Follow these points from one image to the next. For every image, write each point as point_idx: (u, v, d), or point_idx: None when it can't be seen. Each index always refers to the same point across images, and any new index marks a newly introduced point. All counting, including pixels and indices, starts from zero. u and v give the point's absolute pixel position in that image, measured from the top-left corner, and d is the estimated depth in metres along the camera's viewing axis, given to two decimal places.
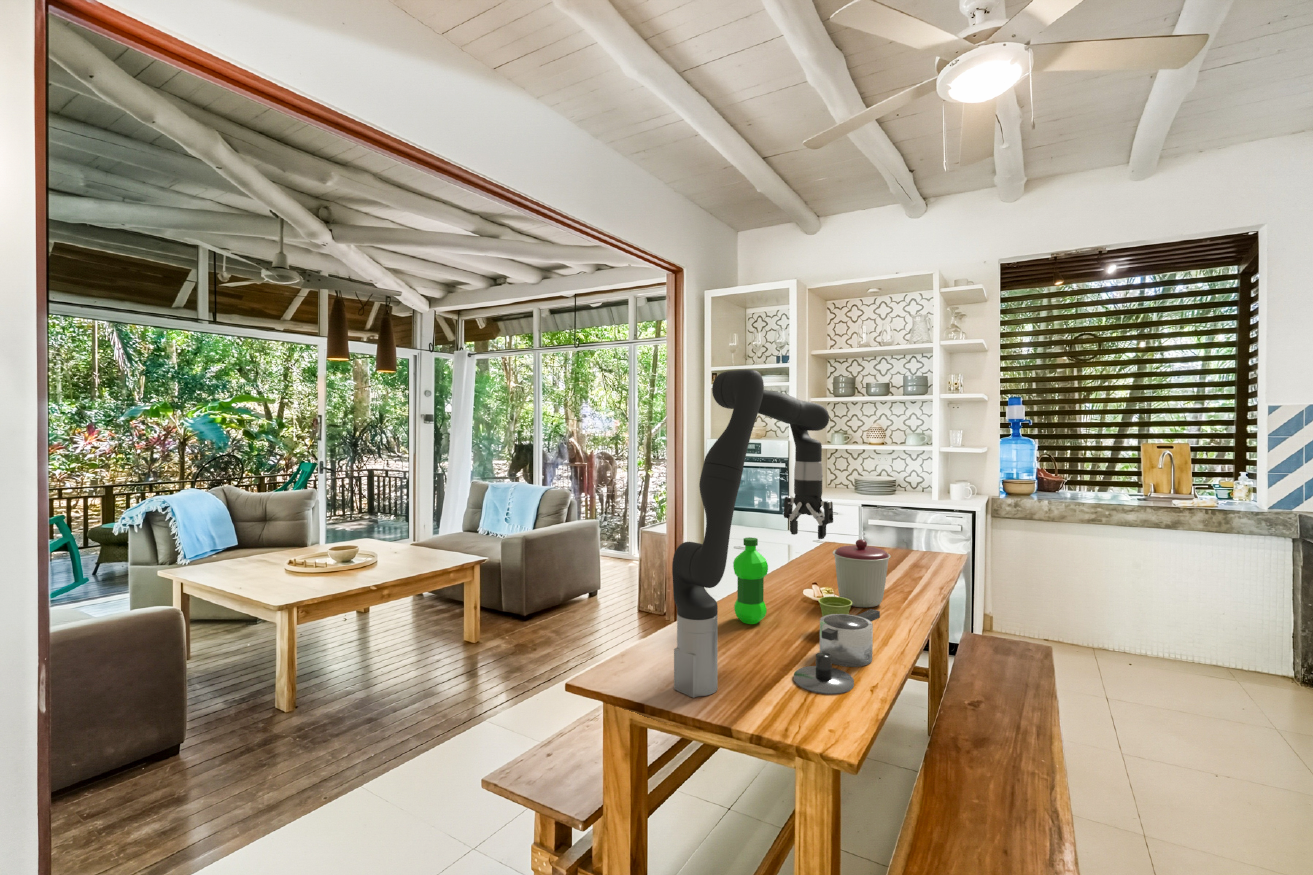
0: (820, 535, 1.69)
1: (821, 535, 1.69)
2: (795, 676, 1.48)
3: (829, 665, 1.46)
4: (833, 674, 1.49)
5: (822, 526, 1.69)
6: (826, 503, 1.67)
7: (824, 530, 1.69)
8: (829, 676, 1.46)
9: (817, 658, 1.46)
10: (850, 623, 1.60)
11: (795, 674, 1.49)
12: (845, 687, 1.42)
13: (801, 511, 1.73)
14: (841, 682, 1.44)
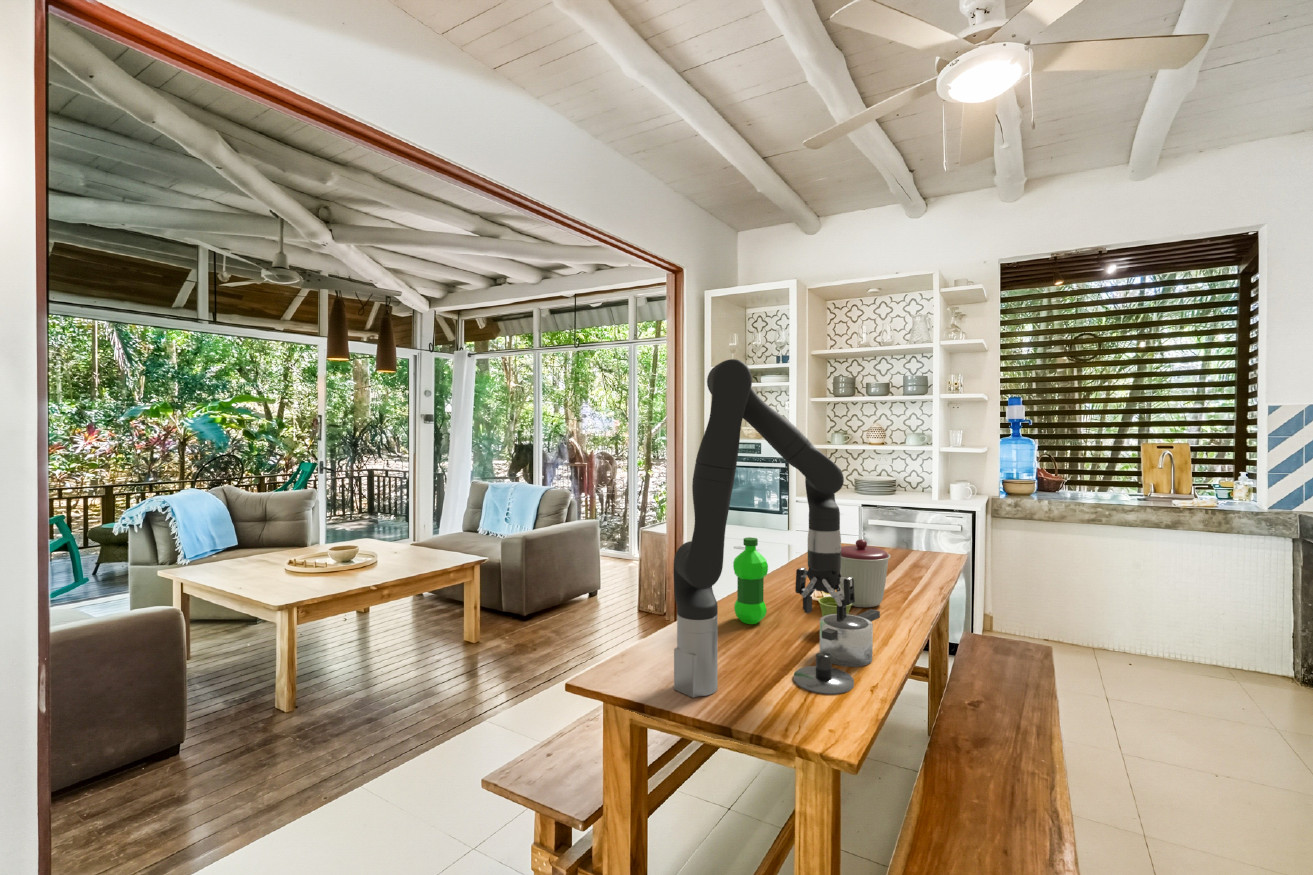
0: (839, 617, 1.43)
1: (841, 617, 1.43)
2: (795, 676, 1.48)
3: (829, 665, 1.46)
4: (833, 674, 1.49)
5: (842, 607, 1.42)
6: (846, 581, 1.41)
7: (844, 611, 1.43)
8: (829, 676, 1.46)
9: (817, 658, 1.46)
10: (850, 623, 1.60)
11: (795, 674, 1.49)
12: (845, 687, 1.42)
13: (816, 587, 1.47)
14: (841, 682, 1.44)
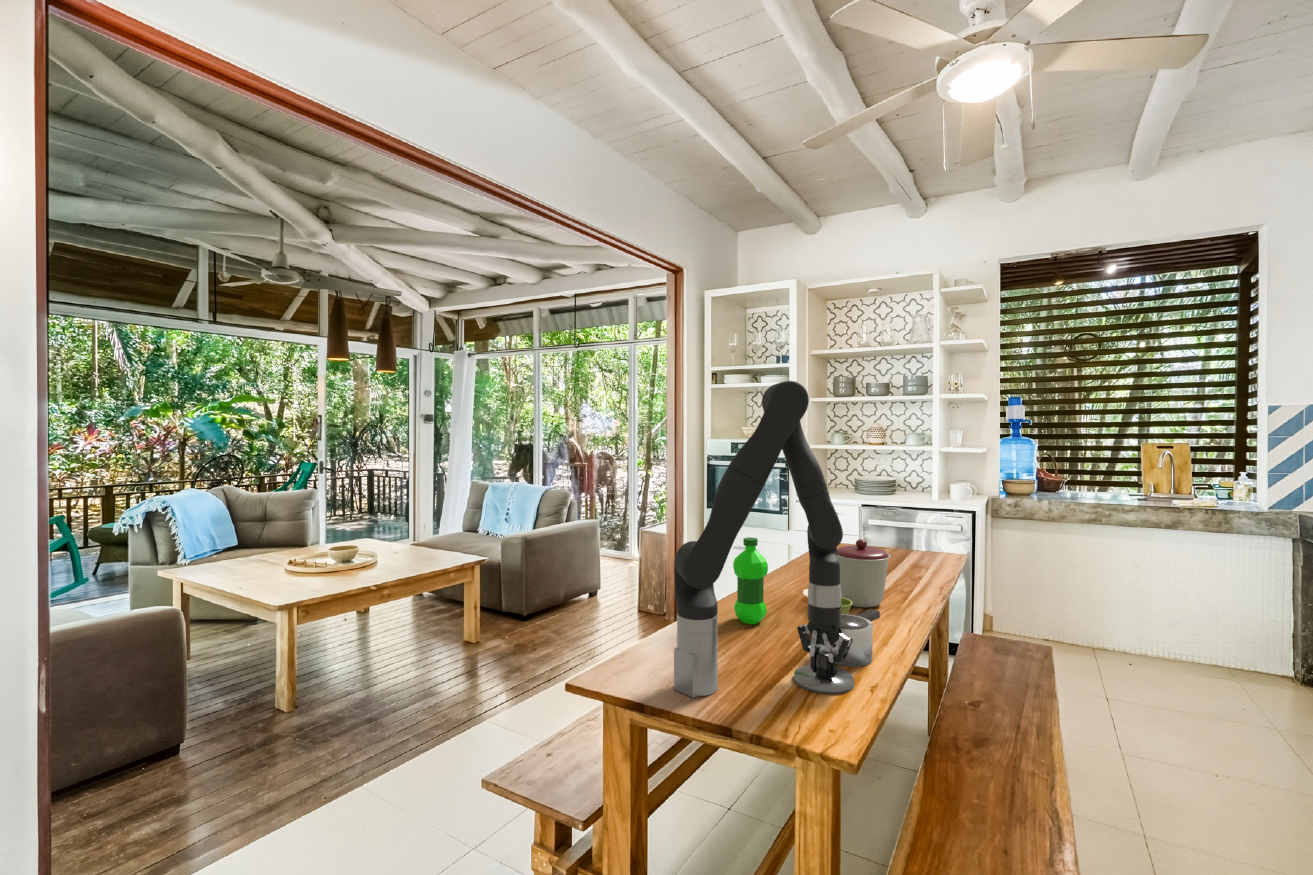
0: (831, 673, 1.45)
1: (832, 673, 1.45)
2: (795, 675, 1.48)
3: None
4: None
5: (833, 663, 1.44)
6: (845, 642, 1.41)
7: (835, 668, 1.45)
8: None
9: (817, 657, 1.46)
10: (850, 623, 1.60)
11: (795, 672, 1.49)
12: (845, 686, 1.42)
13: (819, 640, 1.46)
14: (842, 681, 1.44)
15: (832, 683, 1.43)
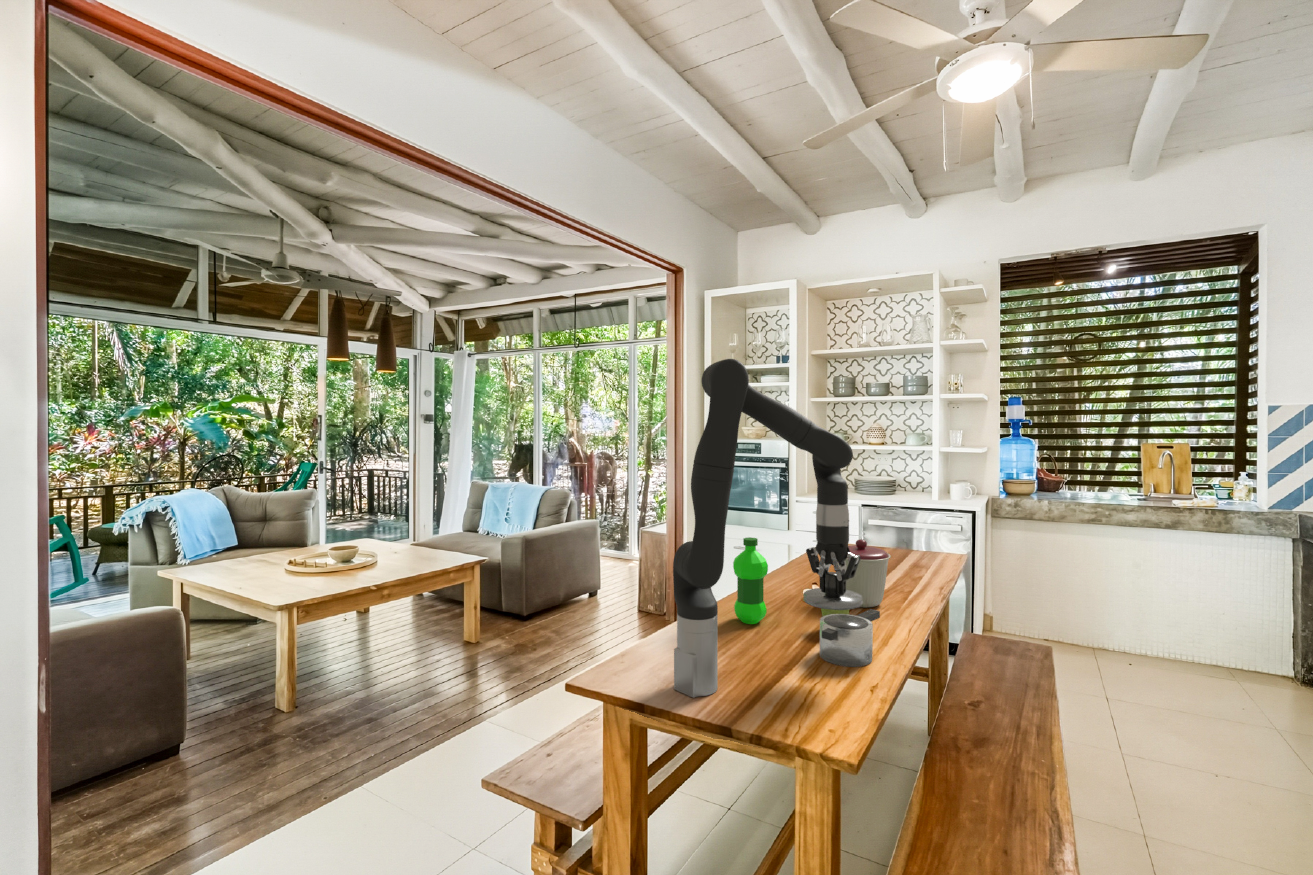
0: (839, 592, 1.48)
1: (840, 592, 1.48)
2: (805, 595, 1.51)
3: None
4: None
5: (841, 581, 1.48)
6: (853, 559, 1.44)
7: (844, 586, 1.48)
8: None
9: (826, 576, 1.49)
10: (850, 623, 1.60)
11: (805, 593, 1.52)
12: (854, 602, 1.45)
13: (828, 560, 1.50)
14: (850, 599, 1.47)
15: (841, 600, 1.46)
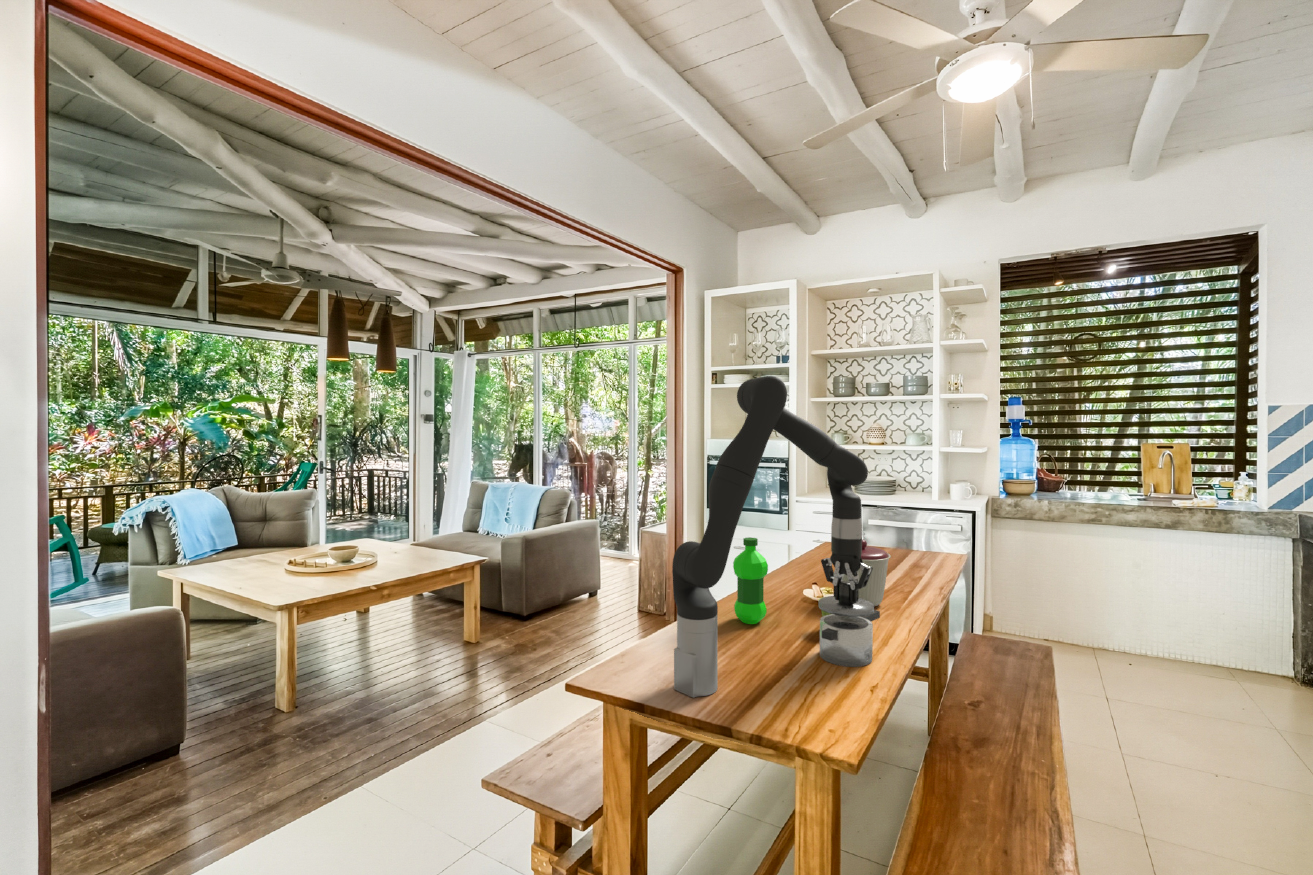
0: (852, 600, 1.59)
1: (853, 600, 1.59)
2: (820, 602, 1.62)
3: None
4: None
5: (854, 590, 1.59)
6: (866, 570, 1.55)
7: (856, 594, 1.59)
8: None
9: (840, 585, 1.60)
10: (850, 623, 1.60)
11: (819, 601, 1.63)
12: (866, 609, 1.56)
13: (842, 570, 1.60)
14: (862, 606, 1.58)
15: (854, 608, 1.57)
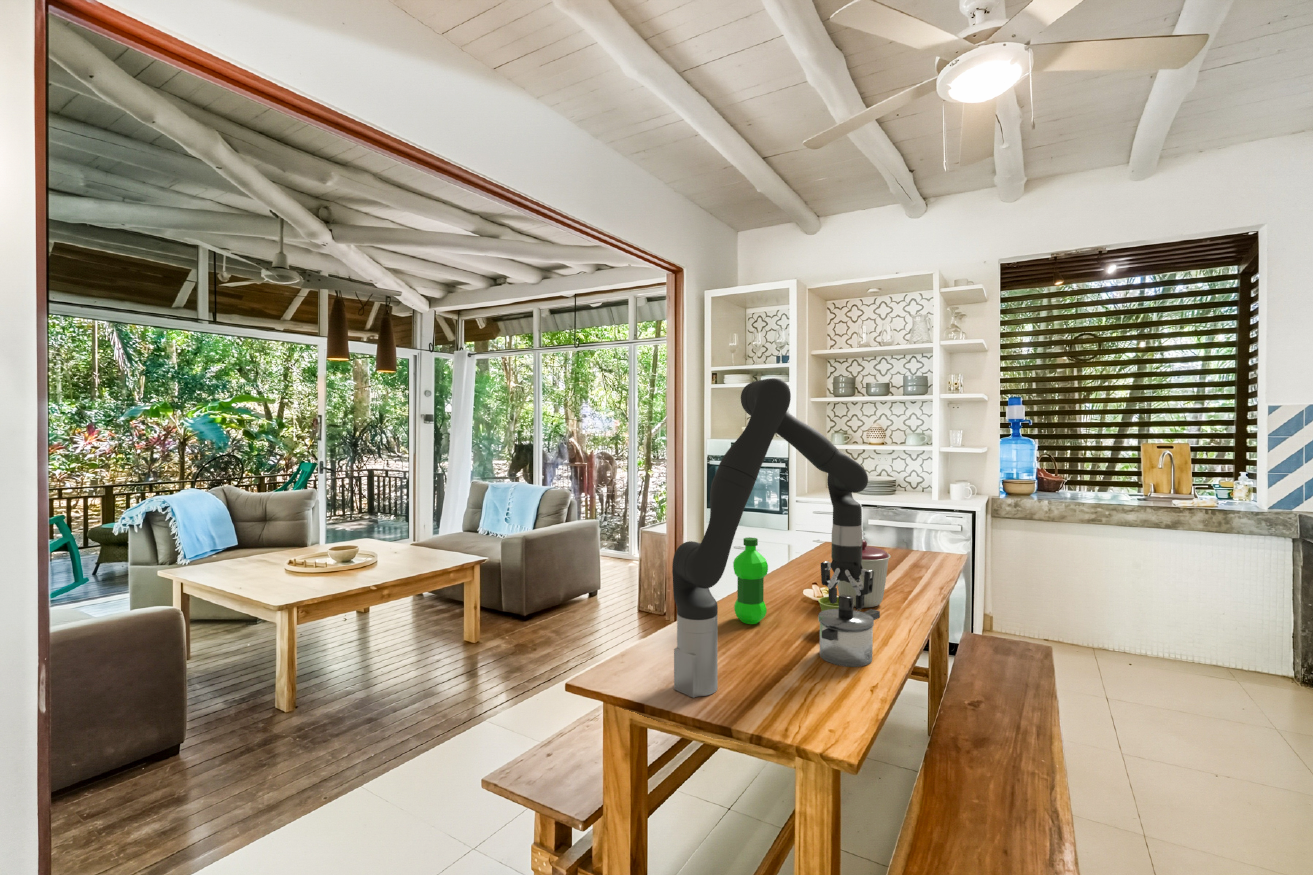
0: (858, 606, 1.58)
1: (859, 606, 1.58)
2: (820, 616, 1.62)
3: (851, 605, 1.60)
4: (854, 614, 1.63)
5: (860, 596, 1.57)
6: (867, 573, 1.55)
7: (862, 600, 1.58)
8: (851, 615, 1.60)
9: (840, 599, 1.61)
10: None
11: (819, 614, 1.63)
12: (866, 624, 1.56)
13: (840, 577, 1.61)
14: (862, 620, 1.58)
15: (854, 622, 1.58)
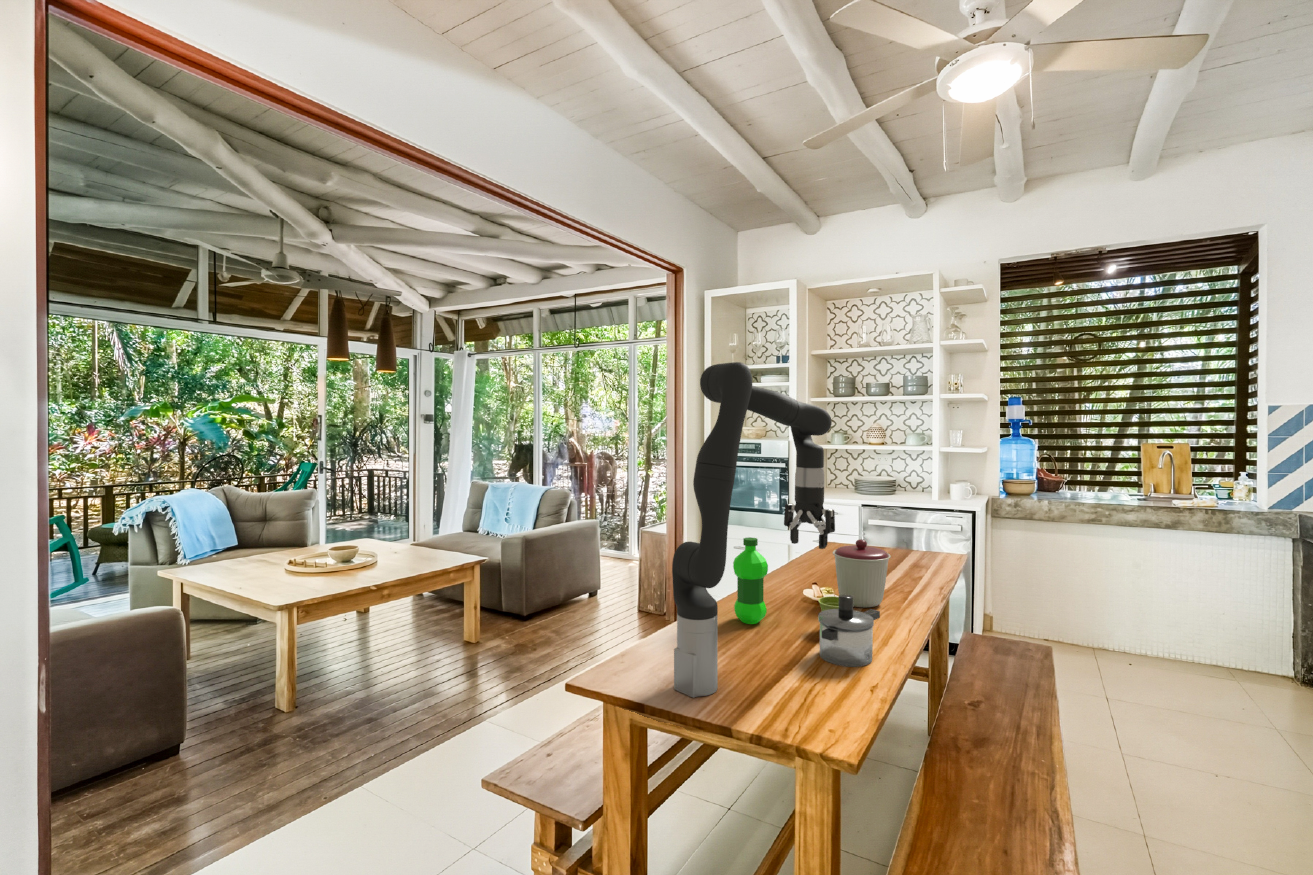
0: (821, 545, 1.61)
1: (822, 545, 1.61)
2: (820, 616, 1.62)
3: (851, 605, 1.60)
4: (854, 614, 1.63)
5: (823, 535, 1.61)
6: (827, 511, 1.60)
7: (825, 540, 1.61)
8: (851, 615, 1.60)
9: (840, 599, 1.60)
10: None
11: (819, 614, 1.63)
12: (866, 624, 1.56)
13: (802, 519, 1.66)
14: (862, 620, 1.58)
15: (854, 622, 1.58)
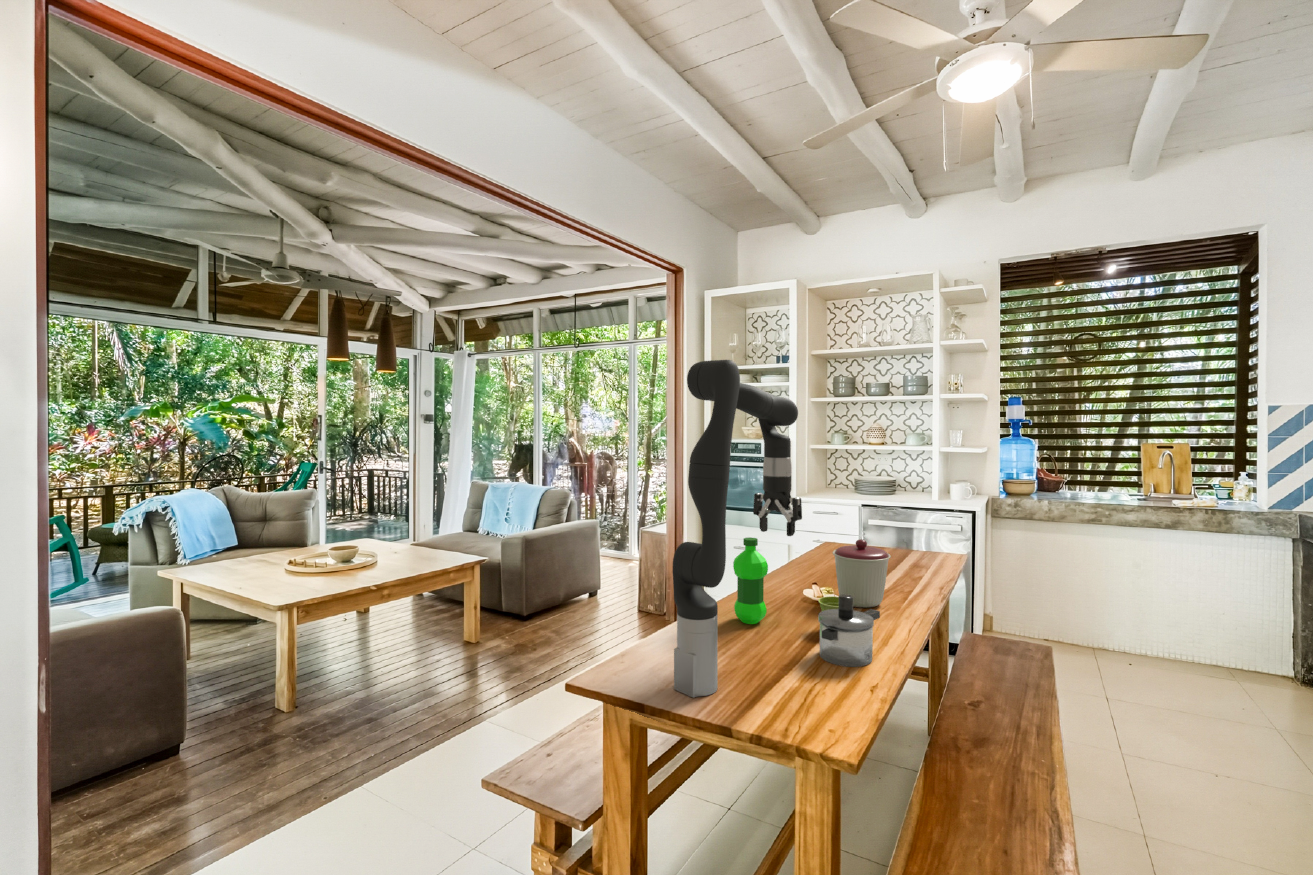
0: (789, 532, 1.66)
1: (790, 532, 1.66)
2: (820, 616, 1.62)
3: (851, 605, 1.60)
4: (854, 614, 1.63)
5: (791, 523, 1.66)
6: (794, 499, 1.64)
7: (793, 527, 1.66)
8: (851, 615, 1.60)
9: (840, 599, 1.61)
10: None
11: (819, 614, 1.63)
12: (866, 624, 1.56)
13: (770, 508, 1.70)
14: (862, 620, 1.59)
15: (854, 622, 1.58)
